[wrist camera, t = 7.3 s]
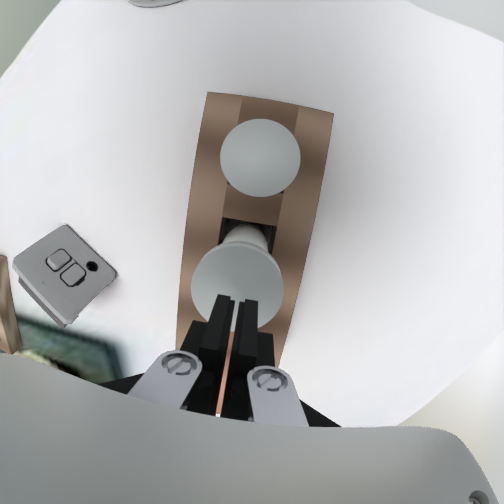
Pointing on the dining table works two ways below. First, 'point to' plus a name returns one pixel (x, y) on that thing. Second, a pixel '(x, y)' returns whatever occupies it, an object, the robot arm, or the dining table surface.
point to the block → (253, 201)
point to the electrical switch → (62, 274)
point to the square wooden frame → (7, 313)
